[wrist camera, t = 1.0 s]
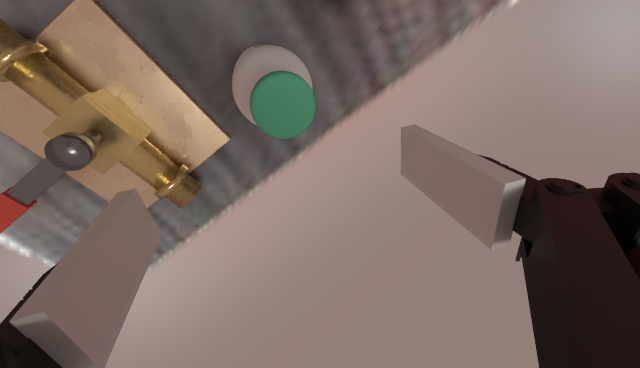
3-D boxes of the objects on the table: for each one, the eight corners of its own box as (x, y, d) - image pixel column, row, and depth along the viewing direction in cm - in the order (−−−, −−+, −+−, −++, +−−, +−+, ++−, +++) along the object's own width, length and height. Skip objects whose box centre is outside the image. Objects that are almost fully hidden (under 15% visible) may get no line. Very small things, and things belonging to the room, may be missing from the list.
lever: (70, 124, 25) (60, 129, 24) (104, 150, 27) (96, 155, 25) (-49, 233, 27) (-65, 243, 25) (-11, 250, 28) (-24, 261, 27)
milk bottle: (263, 118, 38) (279, 180, 21) (221, 71, 35) (198, 101, 17) (306, 81, 38) (358, 114, 20) (267, 29, 34) (291, 15, 16)
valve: (-49, 89, 29) (-163, 108, 21) (69, -27, 28) (-6, -56, 19) (149, 222, 41) (125, 266, 33) (240, 147, 39) (239, 174, 31)
